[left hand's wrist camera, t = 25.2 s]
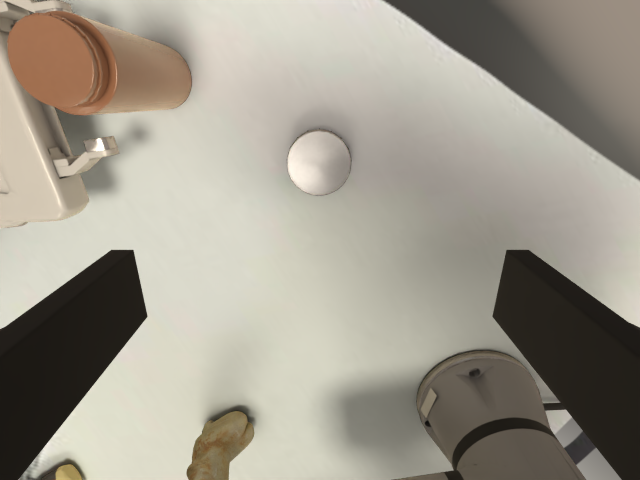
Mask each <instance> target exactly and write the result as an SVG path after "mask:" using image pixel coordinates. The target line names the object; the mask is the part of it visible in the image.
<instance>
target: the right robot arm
mask: <svg viewBox="0 0 640 480" xmlns="http://www.w3.org/2000/svg"><path fill="white" fill-rule="evenodd" d="M29 11H31V12H33V13H46V12H50V11H66V12H70V13H73V12H72V9H71V6H70V4H68V3H65V2H63V1H60V0H48V1H42V2H36V1H34V0H0V228H9V227H17V226H22V225H25V224H27V223H28V222H47V221H58V220H63V219H66V218H69V217H71V216H73V215H76V214H78V213H80V212H81V211H82V210H83V209H84V208H85V207H86V205H87V204H88V203H89V197H88V194H87V192H86V189H85V186H84V184H83V181H82V178H81V176H80V173H82V172H85V171H88V170H90V169H91V168H92V167H93V166H94V165H95V164H96V163H97V162H98V161H99V160H100V159H101V158H102V157H106V156H111V155H115V154H119V150H118V148H117V144H116V141H115V138H114V136H110V137H104V138H96V139H90V140H84V141H83V142H84V145H85V148H86V151H85V152H84V153H83V154H82V155H77V156H73V155H72V152H71V150H70V147H69V144H68V142H67V139H66V136H65V134H64V131H63V129H62V126H61V123H60V121H59V118H58V116H57V113H56V110H55V108H54V107H53V106H50V105H47V104H45V103H43V102H41V101H39V100H37V99H36V98H34V97H33V96H32V95H30V94H29V93H28V92H27V91H26V90H25V89H24V88H23V87H22V85H21V84H20V83H19V81H18V80H17V78H16V77H15V75H14V73H13V71H12V68H11V66H10V62H9V58H8V43H7V40H8V36H9V31H11V30H12V28H13V26H14V25H15V23H16V22H18V21H19V20H20V19H22V18H23V17H24V16H27V15H30V12H29Z"/></svg>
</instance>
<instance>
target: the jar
mask: <svg viewBox="0 0 640 480" xmlns="http://www.w3.org/2000/svg"><path fill="white" fill-rule="evenodd" d="M7 43H8V58H9V62H10V66H11V68H12V71H13V73H14V75H15V77H16V78H17V80H18V81H19V83H20V84H21V85H22V87H23V88H24V89H25V90H26V91H27V92H28V93H29V94H30V95H32V96H33V97H34V98H36V99H37V100H39V101H41V102H43V103H45V104H47V105H50V106H53V107H55V108H57V109H59V110H61V111H63V112H66V113H69V114H73V115H96V114H111V113H125V112H139V111H154V110H168V109H173V108H176V107H178V106H180V105H181V104H183V103H184V102H185V100H186V99H187V97H188V96H189V93H190V90H191V84H192V81H191V74H190V70H189V67H188V65H187V63H186V62H185V60H184V59H183V57H182V56H181V55H180V54H179V53H178V52H177V51H175V50H174V49H172V48H170V47H168V46H166V45H163V44H160V43H157V42H154V41H151V40H149V39H146V38H143V37H140V36H137V35H134V34H131V33H128V32H125V31H123V30H120V29H117V28H114V27H111V26H108V25H105V24H102V23H100V22H97V21H94V20H91V19H88V18H85V17H82V16H79V15H76V14H74V13H70V12H66V11H50V12H46V13H34V14H31V15H27V16H24V17H23V18H22V19H20V20H19V21H18V22H16V23H15V25H14V26H13V28H12V30H11V31H9V36H8V40H7Z"/></svg>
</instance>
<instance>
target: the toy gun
mask: <svg viewBox="0 0 640 480" xmlns="http://www.w3.org/2000/svg"><path fill="white" fill-rule="evenodd" d="M41 480H82V478H81V476H80V474H79V472H78V471H77V469H76V468H75V467H74V466H73V465H70V464H69V465H64V466H60V467H59V468H58V469H57V470H54V471H52V472H51V473H49V474H47V475H46V476H45V477H43V478H42V479H41Z"/></svg>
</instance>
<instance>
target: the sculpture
mask: <svg viewBox="0 0 640 480" xmlns="http://www.w3.org/2000/svg"><path fill="white" fill-rule="evenodd" d="M253 437H254V429H253V425H252V424H251V423H249V422H247V416H246V415H245V414H244V413H242V412H240V411H234V412H230V413H228V414H226V415H224V416H222V417H221V418H219V419H218V420H216V421H215V422H213V421H212V420H210V421H208V422H207V423H206V424H205V426H204V428H203V431H202V434H201V435H200V436H199V437H198V438H197V439H196V441H195V445H194V448H193V455H192V464H191V465H190V466H189V467H188V469H187V477H188V479H189V480H229V463H230V462H231V461H232V460H233V459H234V458H235V457H236V456H237V455H238V454H239V453H240V452H242V451H243V450H244V449H245V448H246V447H247V446H248V445H249V443H250V442H251V441H252V439H253Z"/></svg>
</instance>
